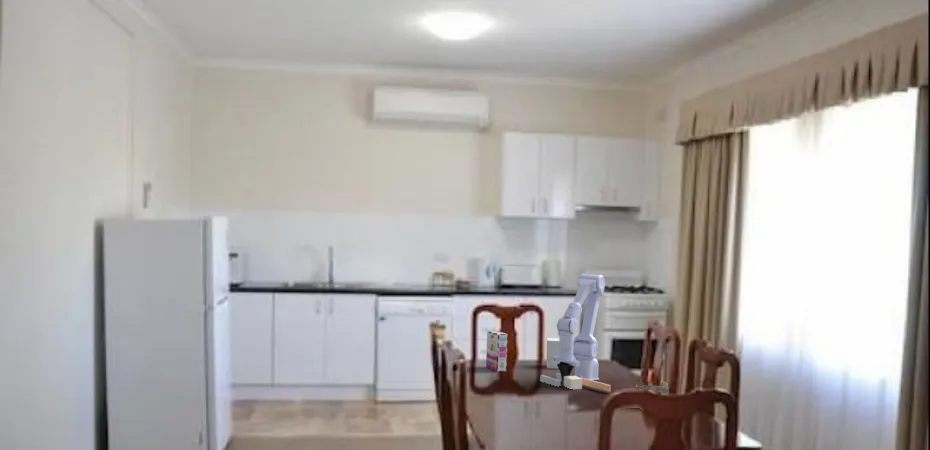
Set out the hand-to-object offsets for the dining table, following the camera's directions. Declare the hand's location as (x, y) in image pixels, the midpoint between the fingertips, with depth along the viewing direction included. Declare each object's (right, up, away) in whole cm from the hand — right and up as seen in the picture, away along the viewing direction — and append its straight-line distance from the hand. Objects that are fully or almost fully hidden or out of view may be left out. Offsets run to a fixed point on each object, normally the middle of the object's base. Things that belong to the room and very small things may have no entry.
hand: (565, 381), depth 301 cm
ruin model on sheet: (+27, -3, -31) cm, 41 cm away
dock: (-2, -1, +4) cm, 4 cm away
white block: (+2, -2, -4) cm, 5 cm away
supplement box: (0, -1, +35) cm, 35 cm away
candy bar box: (-27, -1, +26) cm, 38 cm away
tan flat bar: (+10, -2, -6) cm, 12 cm away
